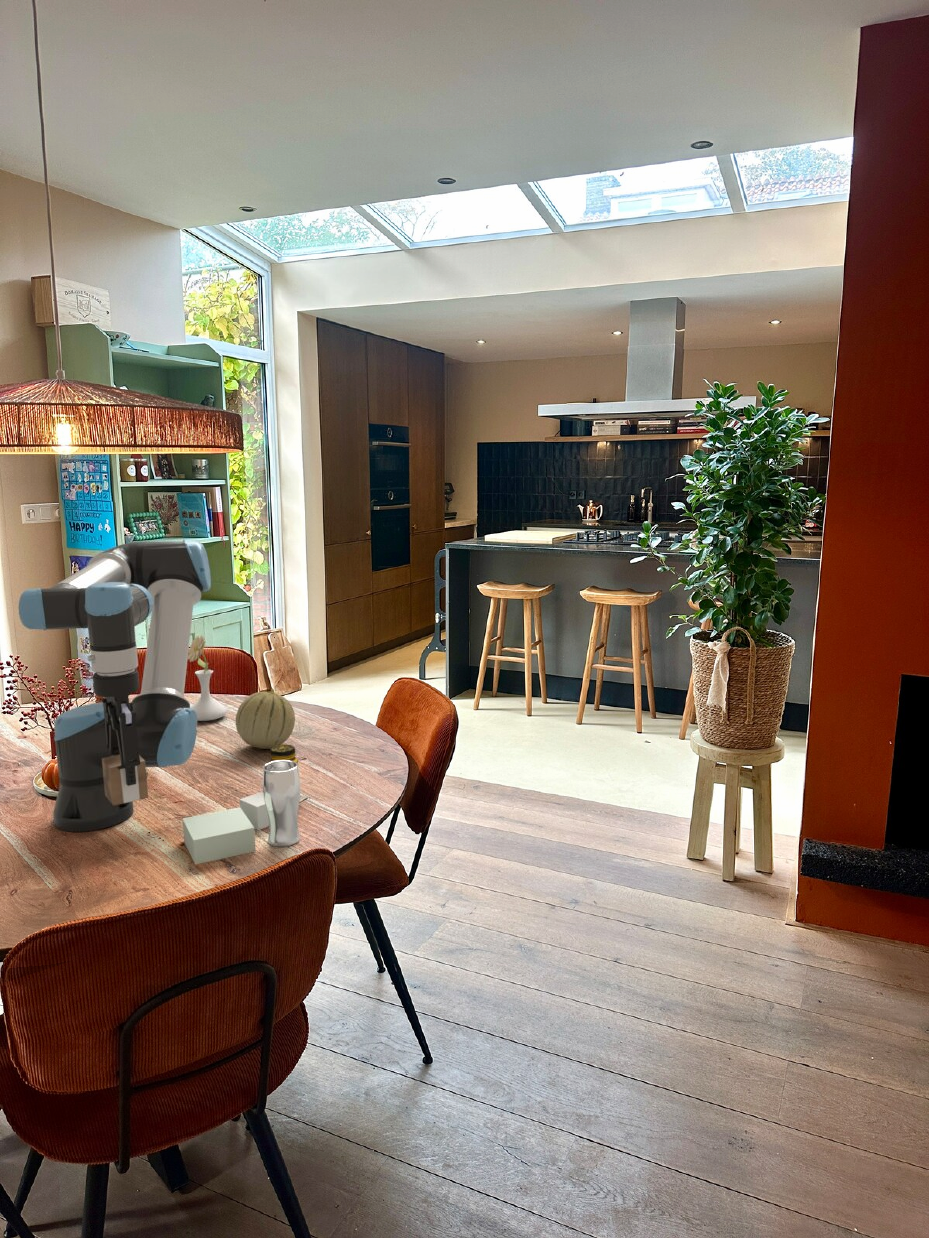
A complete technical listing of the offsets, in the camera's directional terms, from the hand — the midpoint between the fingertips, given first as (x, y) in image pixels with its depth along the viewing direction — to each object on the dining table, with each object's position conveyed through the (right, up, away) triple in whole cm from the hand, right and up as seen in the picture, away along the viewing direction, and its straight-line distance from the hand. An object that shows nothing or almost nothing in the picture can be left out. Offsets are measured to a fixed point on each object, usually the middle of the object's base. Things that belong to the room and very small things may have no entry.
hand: (126, 794), depth 153 cm
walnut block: (0, 0, 0) cm, 0 cm away
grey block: (+20, -9, +18) cm, 29 cm away
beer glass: (+27, -11, +10) cm, 30 cm away
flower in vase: (-13, +3, +89) cm, 90 cm away
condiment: (+22, -8, +29) cm, 38 cm away
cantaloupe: (+11, -1, +64) cm, 65 cm away
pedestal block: (+15, -12, +7) cm, 20 cm away
